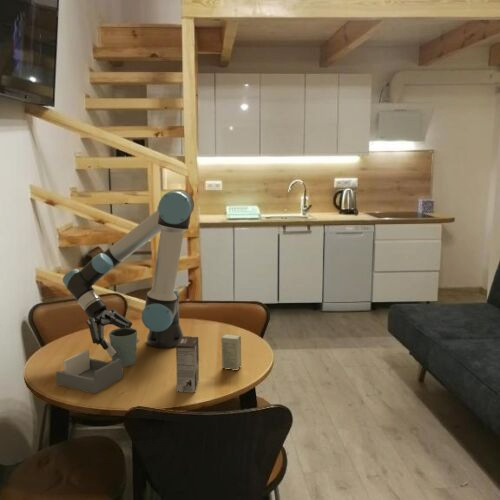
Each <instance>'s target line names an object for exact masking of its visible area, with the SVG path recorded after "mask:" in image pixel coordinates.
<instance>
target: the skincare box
mask: <svg viewBox="0 0 500 500" xmlns="http://www.w3.org/2000/svg"><path fill="white" fill-rule="evenodd" d="M241 337H242V336H241V335H239V334H230V333H229V334H227V333H225V334H224V335H223V336H221V368H222V367H223V368H230V369H238V368H239V367H240V366H241V367H242V338H241Z"/></svg>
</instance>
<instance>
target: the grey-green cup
mask: <svg viewBox="0 0 500 500" xmlns="http://www.w3.org/2000/svg"><path fill="white" fill-rule="evenodd" d="M108 335H109V343H110V344H111V346H112V347H113V348H114V350H115V351H116V352H117V353H116V354H115V355H114V356H113V357H111V362H113V361H115V360H117V359H121V365H123V367H124V368H125V367H130V366H133V365H134V364H135V363H136V360H137V354H136V353H137V344H136V338H138V330H137V329H135V328H133V327H131V328H119V327H118V328H114V329H112V330H111V331H109V332H108Z"/></svg>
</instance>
